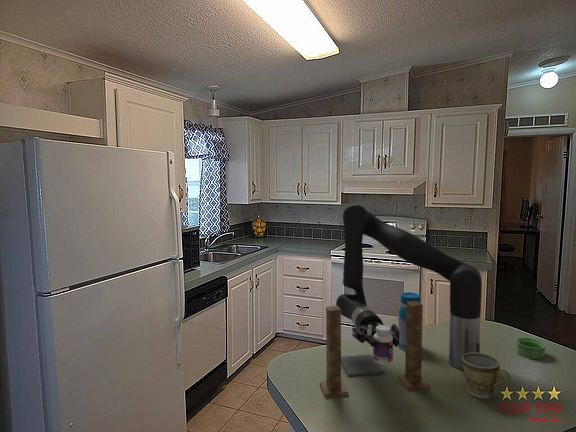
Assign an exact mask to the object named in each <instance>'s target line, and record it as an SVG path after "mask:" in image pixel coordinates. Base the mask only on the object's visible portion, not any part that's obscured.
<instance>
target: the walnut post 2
mask: <svg viewBox="0 0 576 432" xmlns="http://www.w3.org/2000/svg"><path fill="white" fill-rule="evenodd" d="M423 307H424V306H423V304H422V303H421V302H420V303H419V302H418V301H412V302H406V351H405V361H404V362H405V363H404V364H405V366H404V367H405V373H402V374H397V379H398V380H399V383H401V385H402V386H403V387H404V388H405V390H407V391H413V390H424V389H425V390H426V389H430V382H428V381H427V380H426V379H425V377H423V375H422V360H423V359H422V357H423V356H422V355H423V353H422V351H423V311H424V310H423Z"/></svg>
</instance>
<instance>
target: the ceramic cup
mask: <svg viewBox="0 0 576 432" xmlns="http://www.w3.org/2000/svg"><path fill="white" fill-rule="evenodd" d="M462 365H463V369H462V370H463V375H464V381H465V387H466V391H467V392H468V394H469V395H471V396H472V397H476V398H478V399H486V400H487V399H490V398H491V397H492V396H493V394H494V390H495V387H496V386H497V385H498V386H499V385H500V384H502V383H505V382H508V381H509V380H510V374H509V372H508V371H507V370H505V369H500V366H501V362H500V361H499V359H498V358H497V357H495V356H492V355H489V354H487V353H482V352H480V353H477V352H469V353H465V354H463V355H462ZM500 373H503V374H505V375H506V377H507V379H504V380H499V382H496V381H497V379H498V375H499V374H500Z"/></svg>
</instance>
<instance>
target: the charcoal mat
mask: <svg viewBox="0 0 576 432" xmlns="http://www.w3.org/2000/svg"><path fill="white" fill-rule="evenodd" d="M341 367H342V368H343V369H344V371H345V373H346V376H347V377H358V376H371V375H381V374H382V375H383V374H385V370H384V368H382V365H381V364H378V363H376V362H375V361H374V359H373V353H372V354H361V355H360V354H358V355H350V356H349V355H348V356H341Z"/></svg>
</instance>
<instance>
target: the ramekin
mask: <svg viewBox="0 0 576 432" xmlns="http://www.w3.org/2000/svg"><path fill="white" fill-rule="evenodd" d="M515 342H516V343H515V344H516V352H517V354H518V355H519V356H521V357H523V356H524V357H523V358H526V359H530V360H541V358H542V359H543V358H544V357H545V351H546V348H547V344H545V342H543V341H542V340H539V339H535V338H532V337H518V338H517V339H516V340H515Z"/></svg>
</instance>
